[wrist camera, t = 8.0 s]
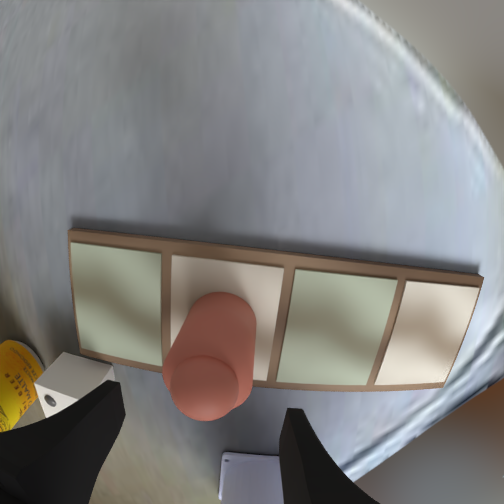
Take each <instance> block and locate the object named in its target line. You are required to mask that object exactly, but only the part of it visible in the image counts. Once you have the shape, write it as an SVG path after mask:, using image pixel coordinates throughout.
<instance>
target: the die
mask: <svg viewBox="0 0 504 504" xmlns="http://www.w3.org/2000/svg"><path fill="white" fill-rule="evenodd" d="M106 380H112V381H115V378H114V371H113V365H109V364H105V363H101V362H97V361H94V360H90V359H86V358H83V357H79V356H76V355H72V354H69V353H66V352H63V353H62V354H61V355H60V356H59V357H58V358H57V359H56V360H55V361H54V362H53V363H52V364H51V365H50V366H49V367H48V368H47V369H46V371H45V372H44V373H43V374H42V375H41V376H40V377H39V378H38V379H37V380H36V381H35V382H34V385H35V388H36V391H37V394H38V397H39V400H40V402H41V405H42V408H43V410H44V413H45V416H46V418H48V417H50V416H52V415H54V414H56V413H58V412H60V411H61V410H63V409H65V408H66V407H68V406H70V405H71V404H73V403H75V402H76V401H78V400H79V399H81V398H82V397H84V396H85V395H86V394H88V393H89V392H91V391H92V390H94V389H95V388H96V387H98V386H99V385H101V384H102V383H103V382H105V381H106Z"/></svg>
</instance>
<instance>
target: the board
mask: <svg viewBox="0 0 504 504" xmlns="http://www.w3.org/2000/svg"><path fill="white" fill-rule="evenodd" d="M68 249H69V267H70V280H71V290H72V300H73V308H74V316H75V324H76V330H77V337H78V343H79V349H80V354H82V355H86V356H90V357H93V358H97V359H101V360H105V361H109V362H113V363H117V364H121V365H126V366H130V367H135V368H139V369H144V370H149V371H154V372H159V373H162V368H163V364H164V361H165V359H166V357H167V355H168V353H169V351H170V349H171V347H172V345H173V343H174V341H175V339H176V337H177V335H178V333H179V331H180V329H181V327H182V325H183V323H184V321H185V319H186V317H187V315H188V313H189V311H190V309H191V307H192V306H193V304H194V303H195V302H196V301H197V300H198V299H199V298H200V297H202V296H204V295H206V294H209V293H212V292H227V293H231V294H234V295H237V296H239V297H240V298H242V299H243V300H245V301H246V302H247V303H248V304H249V305H250V307H251V308H252V310H253V311H254V314H255V317H256V323H257V325H256V341H255V355H254V370H253V385H252V386H254V387H265V388H277V389H291V390H309V391H341V392H372V391H403V390H420V389H433V388H443V386H444V384H445V382H446V380H447V378H448V376H449V374H450V371H451V369H452V367H453V365H454V362H455V360H456V358H457V355H458V353H459V350H460V348H461V345H462V343H463V340H464V338H465V335H466V332H467V329H468V327H469V324H470V321H471V318H472V315H473V312H474V309H475V306H476V303H477V300H478V297H479V294H480V290H481V287H482V283H483V280H484V277H482V276H481V275H479V274H473V273H465V272H457V271H449V270H440V269H432V268H424V267H415V266H407V265H398V264H390V263H382V262H373V261H365V260H356V259H347V258H339V257H330V256H322V255H313V254H304V253H296V252H287V251H278V250H269V249H261V248H252V247H243V246H234V245H225V244H216V243H208V242H199V241H190V240H181V239H172V238H163V237H154V236H144V235H135V234H126V233H117V232H108V231H99V230H89V229H80V228H72V229H69V230H68Z"/></svg>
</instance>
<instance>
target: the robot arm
mask: <svg viewBox="0 0 504 504" xmlns="http://www.w3.org/2000/svg"><path fill="white" fill-rule="evenodd" d="M125 415H126V414H125V409H124V404H123V398H122V392H121V386H120V383H119V382H115V381H112V380H106V381H105V382H103V383H102V384H101V385H99V386H98V387H96V388H95V389H94V390H92V391H91V392H89V393H88V394H86V395H85V396H84V397H82V398H81V399H79V400H78V401H76V402H75V403H73V404H71V405H70V406H68V407H66V408H65V409H63V410H61V411H60V412H58V413H56V414H54V415H52V416H50V417H48V418H45V419H43V420H41V421H38V422H36V423H33V424H30V425H27V426H24V427H21V428H17V429H13V430H8V431H3V432H0V504H88V503H89V500H90V497H91V494H92V490H93V487H94V484H95V482H96V479H97V476H98V473H99V471H100V469H101V467H102V465H103V463H104V461H105V459H106V457H107V455H108V454H109V452H110V450H111V448H112V446H113V444H114V442H115V440H116V438H117V436H118V434H119V432H120V429H121V427H122V424H123V421H124V418H125ZM219 499H220V500H221V504H380V503H378V502H377V501H375V500H374V499H373V498H371V497H370V496H368V495H367V494H366V493H365V492H364V491H362V490H361V489H360V488H359V487H358V486H357V485H355V484H354V483H353V482H352V481H351V480H350V479H349V478H348V477H347V476H346V475H345V474H344V473H343V471H342V470H341V469H340V468H339V467H338V466H337V464H336V463H335V462H334V461H333V459H332V458H331V457H330V455H329V454H328V453H327V451H326V450H325V448H324V447H323V445H322V444H321V442H320V440H319V439H318V437H317V436H316V434H315V432H314V430H313V429H312V427H311V425H310V423H309V421H308V419H307V417H306V415H305V413H304V411H303V410H302V409H297V408H287V412H286V416H285V420H284V424H283V427H282V431H281V435H280V441H279V456H265V455H252V454H241V453H232V452H224V453H223V454H222V462H221V474H220V486H219Z"/></svg>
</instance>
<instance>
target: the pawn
mask: <svg viewBox="0 0 504 504" xmlns="http://www.w3.org/2000/svg"><path fill="white" fill-rule="evenodd" d="M256 325H257V323H256V317H255V314H254V311H253V310H252V308H251V307H250V305H249V304H248V303H247V302H246V301H245V300H243V299H242V298H240V297H239V296H237V295H234V294H231V293H227V292H212V293H209V294H206V295H204V296H202V297H200V298H199V299H198V300H197V301H196V302H195V303H194V304H193V306H192V307H191V309H190V311H189V313H188V315H187V317H186V319H185V321H184V323H183V325H182V327H181V329H180V331H179V333H178V335H177V337H176V339H175V341H174V343H173V345H172V347H171V349H170V351H169V353H168V355H167V357H166V359H165V361H164V364H163V368H162V375H163V379H164V383H165V385H166V387H167V388H168V390H169V391H170V393H171V397H172V400H173V402H174V403H175V405H176V406H177V408H178V409H179V410H180V411H181V412H182V413H183V414H185V415H186V416H188V417H190V418H192V419H195V420H199V421H212V420H216V419H219V418H221V417H223V416H225V415H226V414H227V413H228V412H230V410H231V409H234V408H236V407H238V406H239V405H241V404H242V403H243V402H244V401H245V400H246V399H247V398H248V396H249V395H250V393H251V390H252V385H253V370H254V355H255V341H256Z"/></svg>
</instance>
